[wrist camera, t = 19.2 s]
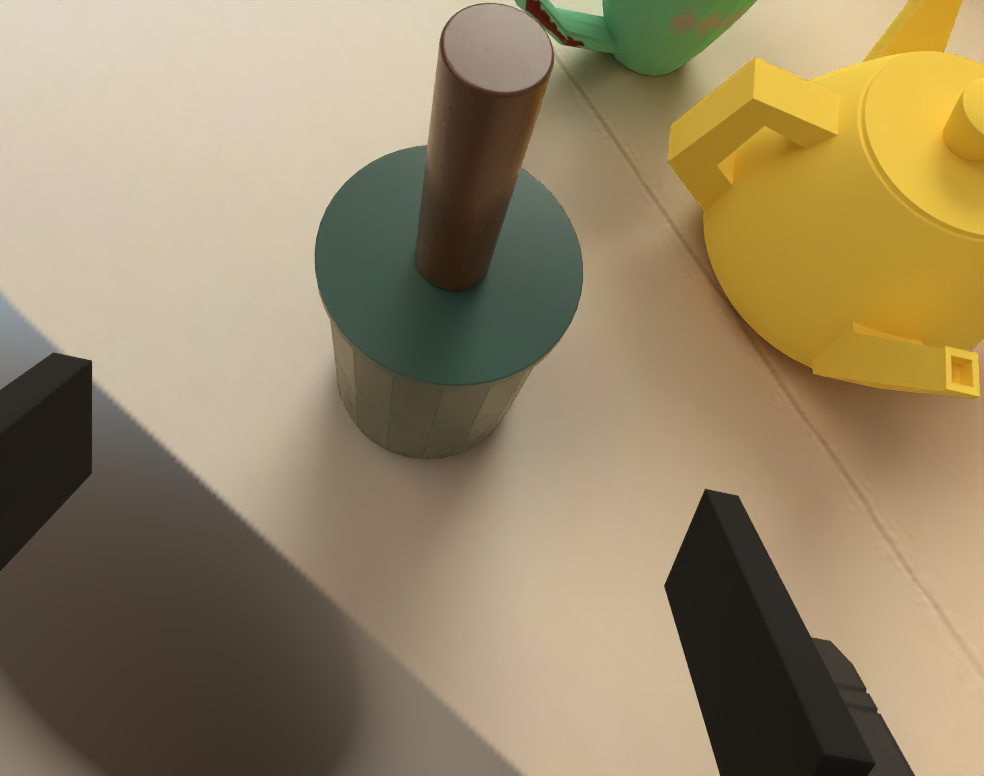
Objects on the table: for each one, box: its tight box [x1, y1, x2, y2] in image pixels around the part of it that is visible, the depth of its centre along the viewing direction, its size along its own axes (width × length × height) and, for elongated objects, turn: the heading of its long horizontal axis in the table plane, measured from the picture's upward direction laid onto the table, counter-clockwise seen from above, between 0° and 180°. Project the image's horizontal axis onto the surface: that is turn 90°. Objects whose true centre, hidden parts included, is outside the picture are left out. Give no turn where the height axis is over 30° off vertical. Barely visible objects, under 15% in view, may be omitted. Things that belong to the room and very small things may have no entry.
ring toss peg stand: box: [315, 3, 583, 391], centre depth 20 cm, size 9×9×10 cm
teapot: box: [667, 0, 984, 399], centre depth 34 cm, size 17×17×12 cm
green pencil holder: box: [330, 320, 534, 459], centre depth 29 cm, size 8×8×10 cm
